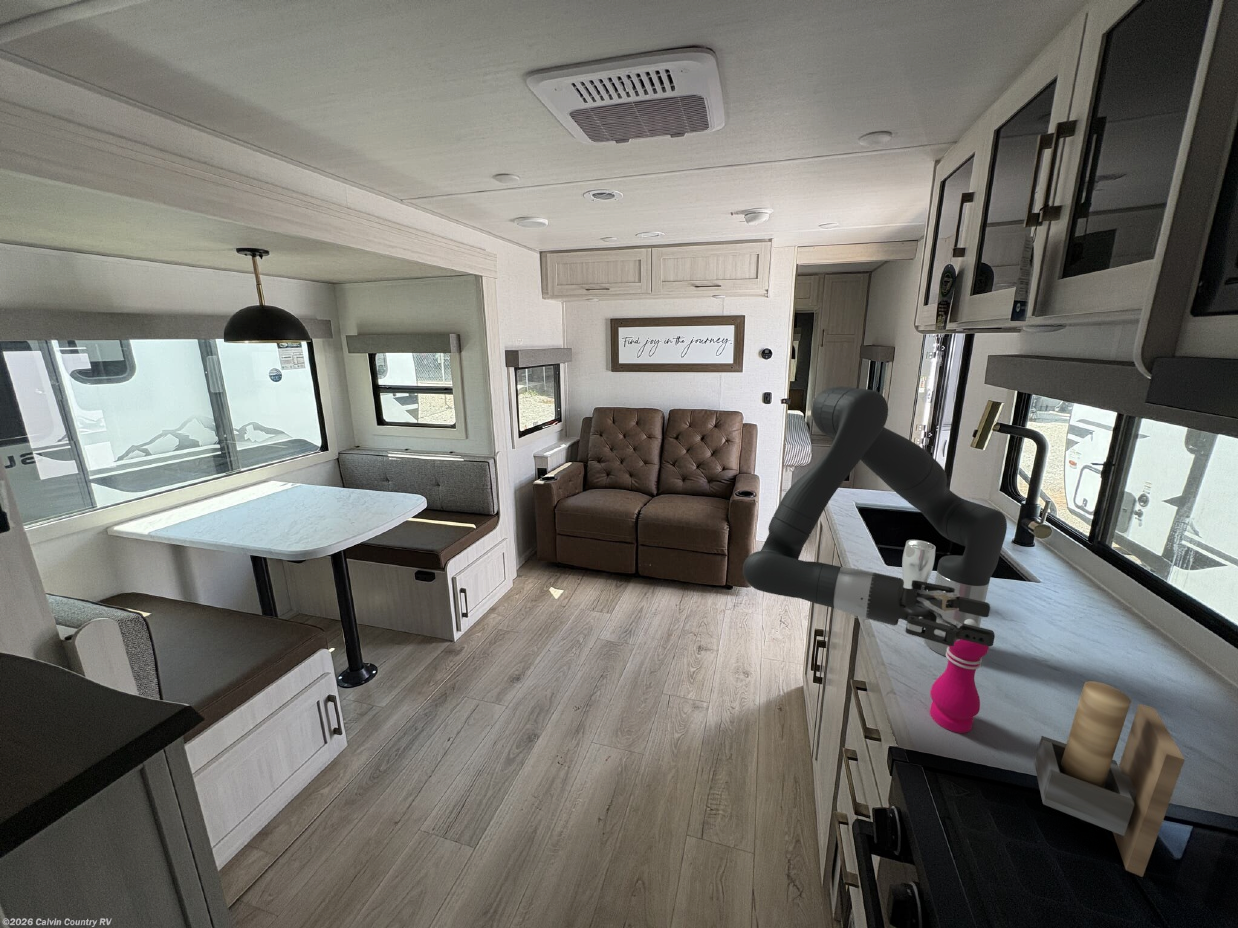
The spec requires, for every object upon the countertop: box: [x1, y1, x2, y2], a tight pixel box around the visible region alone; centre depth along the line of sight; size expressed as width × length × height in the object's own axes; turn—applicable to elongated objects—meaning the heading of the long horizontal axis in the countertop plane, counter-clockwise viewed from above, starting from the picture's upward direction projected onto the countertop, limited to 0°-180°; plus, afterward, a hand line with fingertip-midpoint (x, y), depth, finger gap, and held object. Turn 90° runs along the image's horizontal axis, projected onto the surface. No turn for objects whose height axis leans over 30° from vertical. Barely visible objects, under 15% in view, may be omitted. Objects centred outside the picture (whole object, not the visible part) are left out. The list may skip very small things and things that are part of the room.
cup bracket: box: [1033, 703, 1186, 878], centre depth 66 cm, size 10×10×18 cm
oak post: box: [1059, 680, 1132, 788], centre depth 65 cm, size 4×4×16 cm
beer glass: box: [901, 539, 936, 589], centre depth 127 cm, size 7×7×15 cm
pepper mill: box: [929, 619, 990, 734], centre depth 84 cm, size 7×7×20 cm
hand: (991, 624), depth 71 cm, fingers open, 8 cm apart
